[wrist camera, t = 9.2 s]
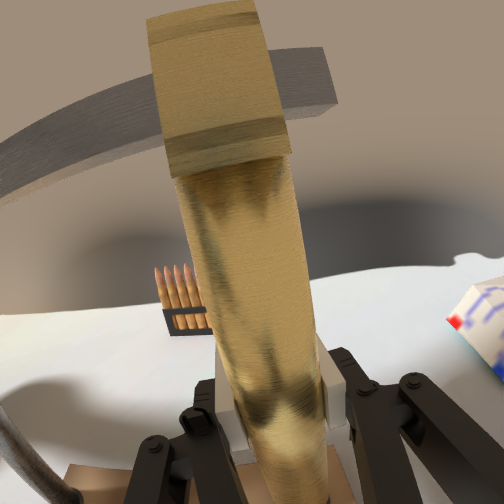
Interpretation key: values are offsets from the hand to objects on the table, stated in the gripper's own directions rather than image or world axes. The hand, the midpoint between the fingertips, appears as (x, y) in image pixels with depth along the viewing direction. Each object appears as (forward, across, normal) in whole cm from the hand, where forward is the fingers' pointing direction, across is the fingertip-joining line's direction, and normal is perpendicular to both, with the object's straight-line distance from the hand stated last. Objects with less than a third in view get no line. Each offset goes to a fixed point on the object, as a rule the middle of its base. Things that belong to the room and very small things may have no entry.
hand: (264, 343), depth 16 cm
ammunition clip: (+28, -9, -13) cm, 33 cm away
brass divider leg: (-5, 0, -11) cm, 12 cm away
